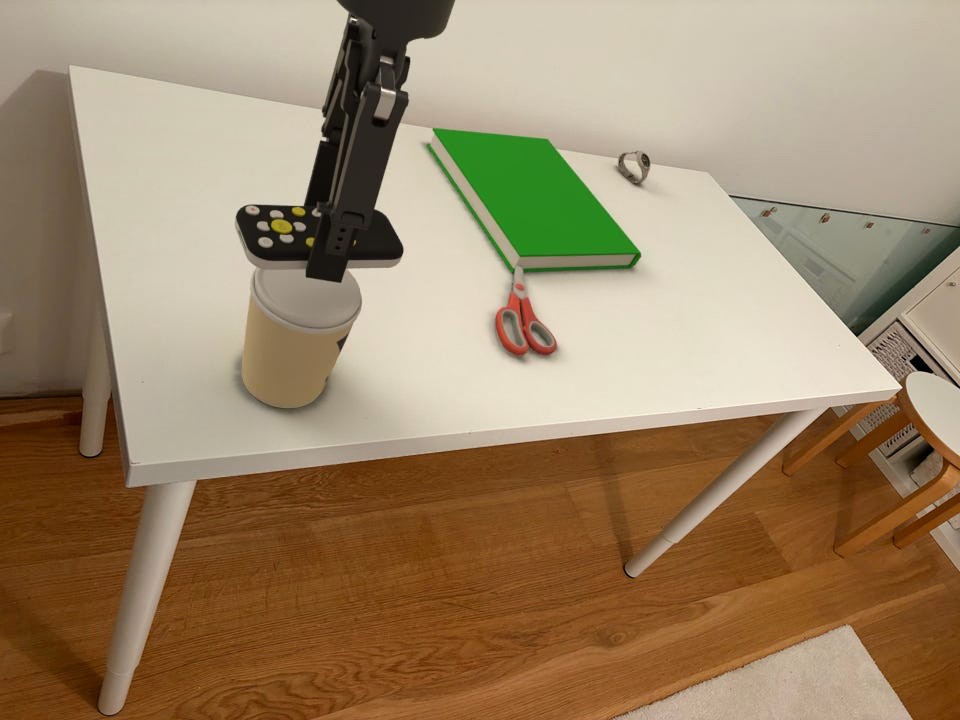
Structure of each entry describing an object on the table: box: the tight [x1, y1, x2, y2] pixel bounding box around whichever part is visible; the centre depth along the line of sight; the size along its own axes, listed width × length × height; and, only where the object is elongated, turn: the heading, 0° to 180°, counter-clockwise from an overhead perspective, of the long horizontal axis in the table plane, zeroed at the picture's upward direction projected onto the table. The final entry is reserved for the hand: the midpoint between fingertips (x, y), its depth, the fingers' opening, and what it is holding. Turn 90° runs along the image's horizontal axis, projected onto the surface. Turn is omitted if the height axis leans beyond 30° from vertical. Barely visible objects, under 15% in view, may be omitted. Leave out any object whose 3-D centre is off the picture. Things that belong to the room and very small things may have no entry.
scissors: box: [494, 265, 558, 357], centre depth 90 cm, size 8×21×2 cm, turn 11°
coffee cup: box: [241, 266, 363, 409], centre depth 64 cm, size 9×9×12 cm
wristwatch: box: [617, 150, 652, 184], centre depth 126 cm, size 4×6×5 cm, turn 42°
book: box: [426, 127, 642, 274], centre depth 107 cm, size 22×28×3 cm
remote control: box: [234, 203, 405, 270], centre depth 57 cm, size 6×13×2 cm, turn 117°
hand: (321, 243), depth 58 cm, fingers closed on remote control, 7 cm apart
